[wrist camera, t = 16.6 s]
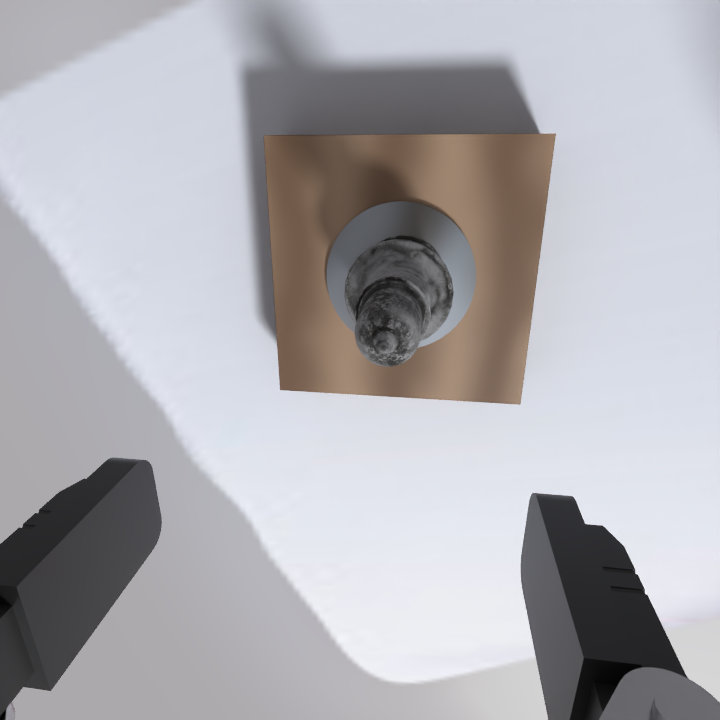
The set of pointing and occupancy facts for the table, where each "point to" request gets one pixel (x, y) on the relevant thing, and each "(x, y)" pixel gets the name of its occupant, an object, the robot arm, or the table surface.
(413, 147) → the walnut plinth
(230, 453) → the table surface
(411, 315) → the stone chess piece
